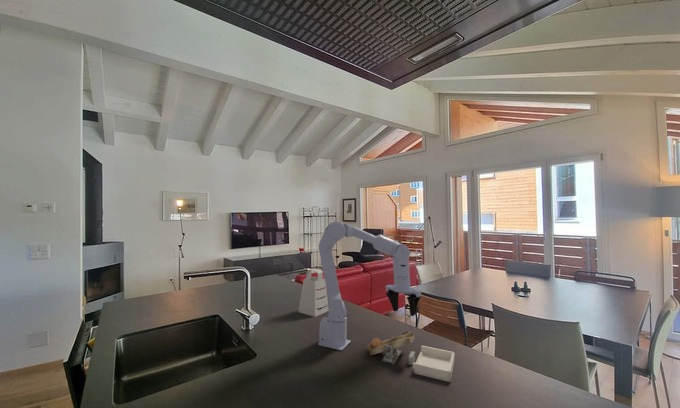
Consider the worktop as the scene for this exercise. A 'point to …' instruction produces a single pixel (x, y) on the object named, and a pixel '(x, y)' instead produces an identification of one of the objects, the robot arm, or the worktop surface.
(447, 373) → the dish
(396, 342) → the lever
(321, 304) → the grater
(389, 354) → the pivot base
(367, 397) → the worktop surface
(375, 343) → the egg
